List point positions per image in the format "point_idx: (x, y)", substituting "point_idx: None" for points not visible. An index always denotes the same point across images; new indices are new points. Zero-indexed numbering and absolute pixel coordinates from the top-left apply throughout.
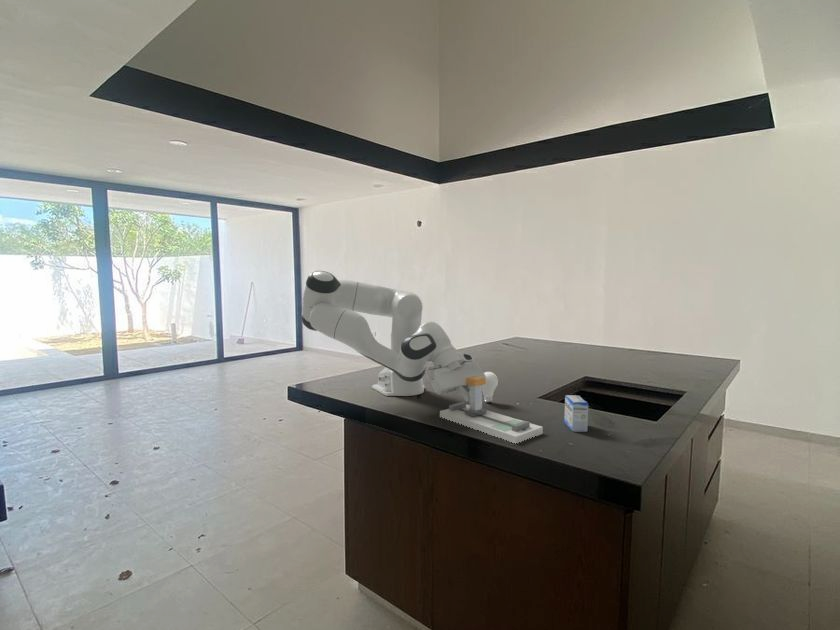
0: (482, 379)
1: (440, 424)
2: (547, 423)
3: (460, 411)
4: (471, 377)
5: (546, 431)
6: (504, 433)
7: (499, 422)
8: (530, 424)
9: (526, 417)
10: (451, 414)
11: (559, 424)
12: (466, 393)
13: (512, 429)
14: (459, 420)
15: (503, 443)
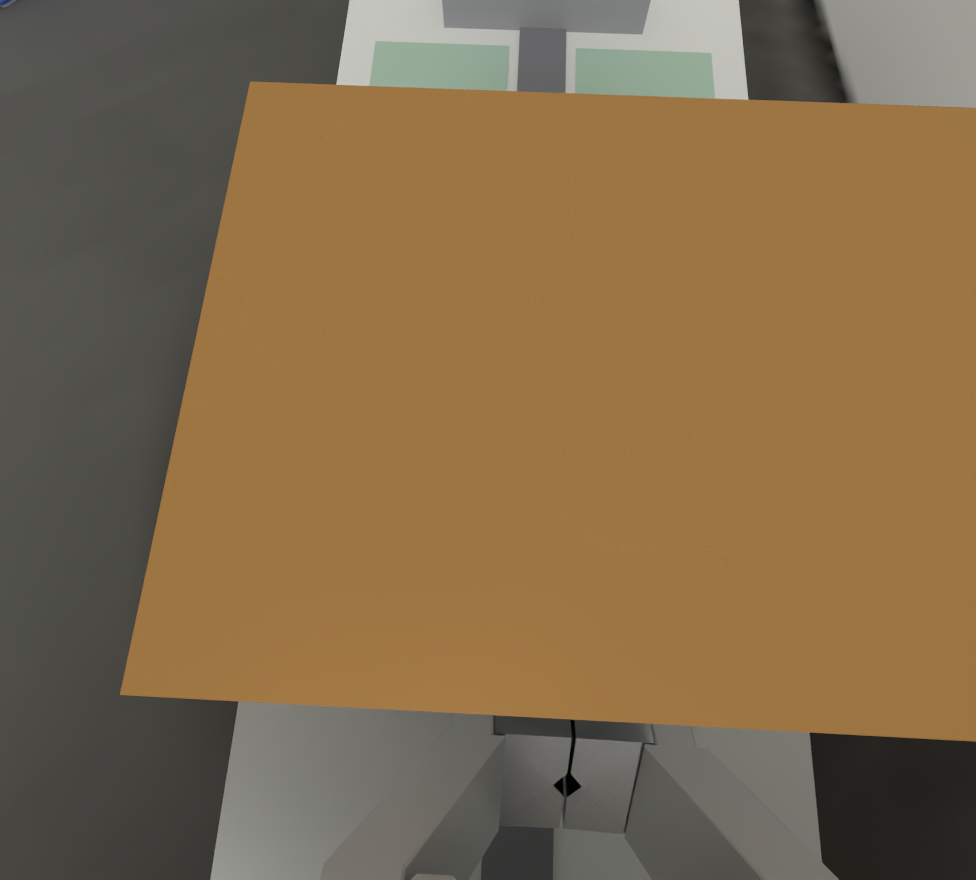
0: (474, 137)
1: (972, 818)
2: (97, 86)
3: (588, 853)
4: (804, 580)
5: (298, 6)
6: (739, 46)
7: None
8: (377, 19)
9: (38, 286)
10: (803, 843)
11: (62, 20)
12: (671, 754)
13: (644, 18)
14: None
15: (777, 66)
